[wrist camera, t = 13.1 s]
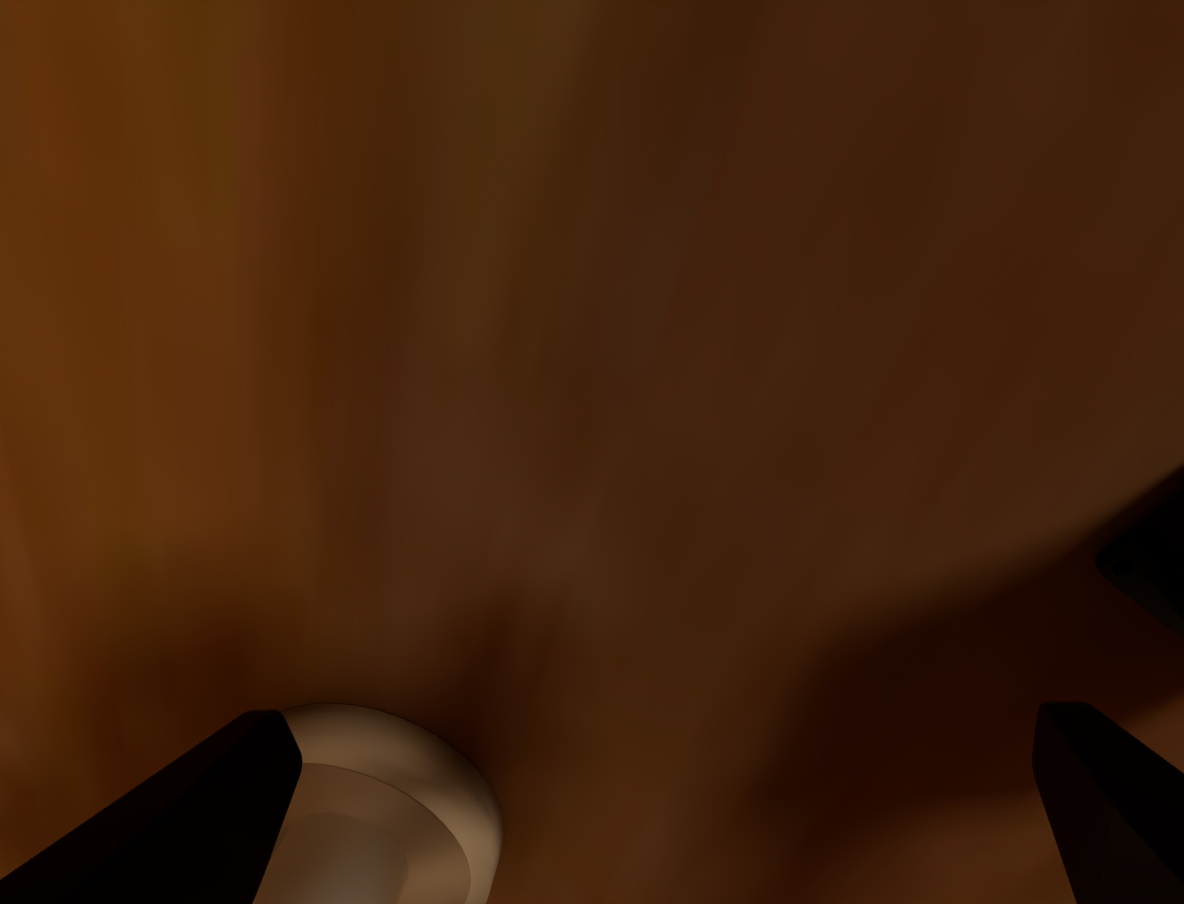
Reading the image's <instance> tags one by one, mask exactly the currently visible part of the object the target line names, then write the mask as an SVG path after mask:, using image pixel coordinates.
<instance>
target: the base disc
mask: <svg viewBox="0 0 1184 904" xmlns="http://www.w3.org/2000/svg"><path fill="white" fill-rule="evenodd" d="M280 713H282V714H283V716H284V717H285V719H286V721H287V723H288V725H289V727H290V730H291V732H292V734H293V736H294V738H295V740H296V742H297V744H298V747H299V749H300V751H301V754H302V770H301V774H300V777H299V780H298V783H297V786H296V789H295V791H294V794H293V797H292V800H291V802H290V805H289V808H288V811H287V813H286V816H285V819H284V822H283V824H282V827H281V830H280V833H279V835H278V838H277V841H276V844H275V847H274V849H273V852H272V855H271V858H270V860H269V863H270V861H271V859H272V857H273V856H274V854H275V852H276V851H277V849H278V847H279V846H280V844H281V842H282V840H283V839H284V837H285V835H286V834H287V832H288V830H289V829H290V827H291V826H292V824H293V823H294V822H295V821H297V820H298V819H300V818H301V817H304V816H306V815H310V814H314V813H337V814H342V815H346V816H350V817H354V818H356V819H359V820H362V821H364V822H366V823H368V824H370V825H372V826H374V827H376V828H377V829H379V830H380V831H382V832H383V833H385V834H386V835H387V836H388V837H390V838H391V839H392V840H393V841H394V842H395V843H396V844H397V845H398V847H399V848H400V849H401V851H402V852H403V854H404V855H405V858H406V860H407V863H408V868H409V874H408V878H407V881H406V884H405V886H404V889H403V891H402V894H401V896H400V899H399V901H398V904H486V901H487V899H488V896H489V892H490V889H491V885H492V882H493V878H494V875H495V871H496V868H497V864H498V861H499V858H500V854H501V851H502V847H503V842H504V835H505V831H504V820H503V815H502V811H501V808H500V806H499V803H498V801H497V798H496V796H495V794H494V793H493V791H492V789H491V788H490V786H489V784H488V783H487V781H486V780H485V779H484V777H483V776H482V775H481V774H480V772H479V771H478V770H477V769H476V768H475V767H474V766H473V765H472V764H471V763H470V762H469V761H468V760H467V759H466V758H465V757H464V756H463V755H462V754H461V753H459V752H458V751H457V750H456V749H455V748H453V747H452V746H451V745H449V744H448V743H446V742H445V741H443V740H442V739H441V738H439V737H438V736H436V735H434V734H433V733H431V732H429V731H427V730H425V729H424V728H422V727H420V726H418V725H416V724H414V723H411V722H409V721H407V720H405V719H402V718H400V717H397V716H394V715H391V714H388V713H385V712H382V711H379V710H374V709H370V708H366V707H362V706H355V705H348V704H333V703H322V704H309V705H304V706H298V707H294V708H291V709H288V710H285V711H282V712H280ZM269 863H268V864H269Z"/></svg>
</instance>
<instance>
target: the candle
mask: <svg viewBox="0 0 1184 904" xmlns="http://www.w3.org/2000/svg"><path fill="white" fill-rule="evenodd" d="M408 874H409V868H408V863H407V860H406V858H405V855H404V854H403V852H402V851H401V849H400V848H399V847H398V845H397V844H396V843H395V842H394V841H393V840H392V839H391V838H390V837H388V836H387V835H386V834H385V833H383V832H382V831H380V830H379V829H377V828H376V827H374V826H372V825H370V824H368V823H366V822H364V821H362V820H359V819H356V818H354V817H350V816H346V815H342V814H337V813H314V814H310V815H306V816H304V817H301V818H300V819H298V820H297V821H295V822H294V823H293V824H292V826H291V827H290V829H289V830H288V832H287V834H286V835H285V837H284V839H283V840H282V842H281V844H280V846H279V847H278V849H277V851H276V852H275V854H274V856H273V857H272V859H271V861H270V863H269V864H268V866H267V869H266V871H265V874H264V877H263V879H262V882H261V884H260V887H259V889H258V892H257V894H256V897H255V899H254V901H253V904H398V901H399V899H400V896H401V894H402V891H403V889H404V886H405V884H406V881H407V878H408Z"/></svg>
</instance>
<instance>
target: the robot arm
mask: <svg viewBox="0 0 1184 904" xmlns="http://www.w3.org/2000/svg"><path fill="white" fill-rule="evenodd" d="M1122 560H1125V561H1124V562H1123V564H1122V565H1120V566H1117V567H1112V566H1113V565H1114V564H1115V563H1116V562H1118V561H1122ZM1095 563H1096V567H1097V568H1098V569H1099V571H1100V572H1101V573H1102V574H1103V576H1104V577H1105V578H1106V579H1107V580H1108V581H1110V582H1111V583H1112V584H1114V585H1115V586H1116V587H1117V588H1119V589H1120V590H1121V591H1123V592H1124V593H1125V594H1126V595H1128V596H1129V597H1130V598H1132V599H1133V600H1134V601H1135V602H1137V603H1138V604H1139V605H1141V606H1142V607H1143V608H1144V609H1146V610H1147V611H1148V612H1150V613H1151V614H1152V615H1153V616H1155V617H1156V618H1157V619H1159V620H1160V621H1161V622H1162V623H1164V624H1165V625H1166V626H1168V627H1169V628H1170V629H1171V630H1173V631H1174V632H1175V633H1177V634H1178V635H1179V636H1180V637H1182V638H1183V639H1184V492H1183V493H1182V494H1181V495H1179V496H1178V497H1176V498H1175V499H1174V500H1172V501H1171V502H1169V503H1168V504H1167V505H1165V506H1164V507H1162V508H1161V509H1160V510H1158V511H1157V512H1155V513H1154V514H1152V515H1151V516H1150V517H1148V518H1147V519H1145V520H1144V521H1143V522H1141V523H1140V524H1138V525H1137V526H1136V527H1134V528H1133V529H1131V530H1130V531H1129V532H1127V533H1126V534H1124V535H1123V536H1122V537H1120V538H1119V539H1117V540H1116V541H1115V542H1113V543H1112V544H1110V545H1109V546H1108V547H1106V548H1105V549H1103V550H1102V551H1101V552H1100V553H1099V554H1098V555H1097V558H1096V560H1095ZM1032 766H1033V772H1034V777H1035V780H1036V784H1037V787H1038V790H1039V793H1040V796H1041V799H1042V802H1043V805H1044V808H1045V811H1046V813H1047V816H1048V819H1049V822H1050V825H1051V828H1052V831H1053V834H1054V837H1055V840H1056V843H1057V846H1058V849H1059V852H1060V855H1061V858H1062V861H1063V864H1064V867H1065V870H1066V873H1067V876H1068V879H1069V882H1070V885H1071V888H1072V891H1073V894H1074V897H1075V900H1076V903H1077V904H1184V773H1182V772H1181V771H1180V770H1178V769H1177V768H1175V767H1174V766H1173V765H1171V764H1170V763H1169V762H1167V761H1166V760H1165V759H1163V758H1162V757H1161V756H1159V755H1158V754H1157V753H1155V752H1154V751H1153V750H1151V749H1150V748H1148V747H1147V746H1146V745H1144V744H1143V743H1142V742H1140V741H1139V740H1138V739H1136V738H1135V737H1134V736H1132V735H1131V734H1130V733H1128V732H1127V731H1126V730H1124V729H1123V728H1121V727H1120V726H1119V725H1117V724H1116V723H1115V722H1113V721H1112V720H1111V719H1109V718H1108V717H1107V716H1105V715H1104V714H1103V713H1101V712H1100V711H1098V710H1097V709H1096V708H1094V707H1093V706H1091V705H1089V704H1087V703H1085V702H1081V701H1048V702H1044V703H1042V704H1041V705H1040V707H1039V709H1038V713H1037V720H1036V728H1035V737H1034V745H1033V753H1032ZM301 770H302V754H301V751H300V749H299V747H298V744H297V742H296V740H295V738H294V736H293V734H292V732H291V730H290V727H289V725H288V723H287V721H286V719H285V717H284V716H283V714H282V713H280V712H279V711H277V710H251V711H247V712H245V713H243V714H242V715H240V716H239V717H237V718H236V719H234V720H233V721H232V722H230V723H229V724H227V725H226V726H224V727H223V728H221V729H220V730H218V731H217V732H215V733H214V734H213V735H211V736H210V737H208V738H207V739H205V740H204V741H202V742H201V743H199V744H198V745H196V746H195V747H194V748H192V749H191V750H189V751H188V752H186V753H185V754H183V755H182V756H180V757H179V758H177V759H176V760H175V761H173V762H172V763H170V764H169V765H167V766H166V767H164V768H163V769H161V770H160V771H158V772H157V773H156V774H154V775H153V776H151V777H150V778H148V779H147V780H145V781H144V782H142V783H141V784H139V785H138V786H137V787H135V788H134V789H132V790H131V791H129V792H128V793H126V794H125V795H123V796H122V797H121V798H119V799H118V800H116V801H115V802H113V803H112V804H110V805H109V806H107V807H106V808H104V809H103V810H102V811H100V812H99V813H97V814H96V815H94V816H93V817H91V818H90V819H88V820H87V821H85V822H84V823H83V824H81V825H80V826H78V827H77V828H75V829H74V830H72V831H71V832H69V833H68V834H66V835H65V836H64V837H62V838H61V839H59V840H58V841H56V842H55V843H53V844H52V845H50V846H49V847H47V848H46V849H45V850H43V851H42V852H40V853H39V854H37V855H36V856H34V857H33V858H31V859H30V860H29V861H27V862H26V863H24V864H23V865H21V866H20V867H18V868H17V869H15V870H14V871H12V872H11V873H10V874H8V875H7V876H5V877H4V878H2V879H1V880H0V904H253V901H254V899H255V897H256V894H257V892H258V889H259V887H260V884H261V882H262V879H263V877H264V874H265V871H266V869H267V866H268V863H269V860H270V858H271V855H272V852H273V849H274V847H275V844H276V841H277V838H278V835H279V833H280V830H281V827H282V824H283V822H284V819H285V816H286V813H287V811H288V808H289V805H290V802H291V800H292V797H293V794H294V791H295V789H296V786H297V783H298V780H299V777H300V774H301Z"/></svg>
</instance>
